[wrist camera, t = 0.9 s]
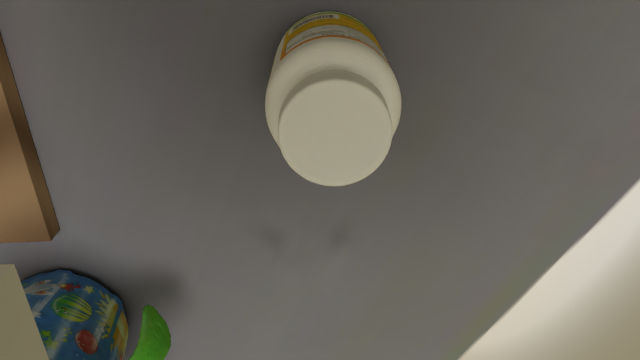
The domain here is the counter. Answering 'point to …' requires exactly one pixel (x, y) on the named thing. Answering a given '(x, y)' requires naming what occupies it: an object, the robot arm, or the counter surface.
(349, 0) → the counter surface
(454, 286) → the counter surface
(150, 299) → the counter surface
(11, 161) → the board
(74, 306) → the snack cup
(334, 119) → the supplement bottle
